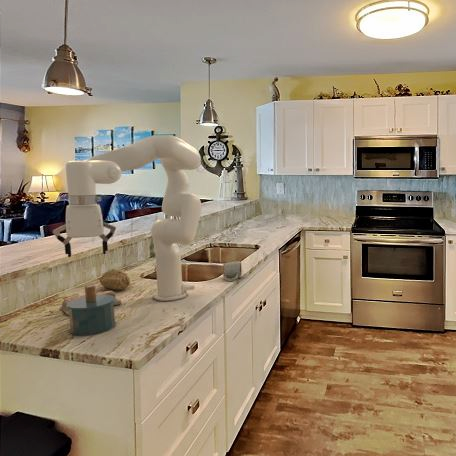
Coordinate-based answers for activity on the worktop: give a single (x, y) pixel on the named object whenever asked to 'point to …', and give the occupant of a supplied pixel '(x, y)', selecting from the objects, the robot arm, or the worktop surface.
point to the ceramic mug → (232, 270)
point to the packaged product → (65, 301)
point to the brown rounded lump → (115, 279)
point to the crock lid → (90, 300)
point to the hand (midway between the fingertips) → (87, 254)
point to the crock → (92, 320)
